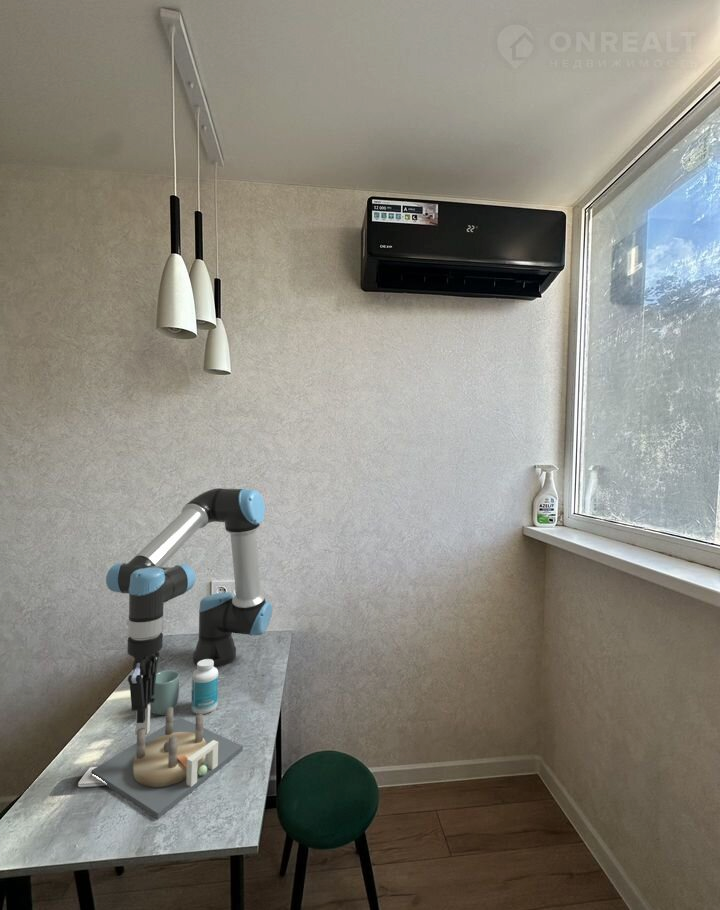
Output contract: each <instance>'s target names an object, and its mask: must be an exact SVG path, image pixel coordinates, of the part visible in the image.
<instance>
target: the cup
mask: <svg viewBox="0 0 720 910" xmlns="http://www.w3.org/2000/svg"><path fill="white" fill-rule="evenodd" d="M154 692H155V693H154V695H153V696H152V698H155V700H154V702H151V703H149V704H150V711H151V712H152V713H153V714H154V715H157V716H164V715H165V716H166V709H167V708H169V707H173V710H174V709H175V708H176V706H177V705H178V701H179V696H180V695H179V694H180V673H179V672H178V671H177V670H169V669H168V670H161V671H159V672H158V671H157V673H156V682H155V691H154Z"/></svg>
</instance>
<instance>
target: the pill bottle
mask: <svg viewBox="0 0 720 910" xmlns="http://www.w3.org/2000/svg"><path fill="white" fill-rule="evenodd" d="M213 666H214V661H213V660H211V659H204V660H201V661H199V662H198V663H197V665H196V669H195V670H194V671H193V673H192V674H191V701H190V702H191V703H190V704H191V707H190V708H191V711H192V712H193V713H194V714H196V715H199V714H203V715H205V714H206V715H207V714H209V713H211V712H213V711H214V710H216V708H217V707H218V705H219V670H218V668H217V667H213Z"/></svg>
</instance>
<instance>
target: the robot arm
mask: <svg viewBox="0 0 720 910" xmlns="http://www.w3.org/2000/svg"><path fill="white" fill-rule="evenodd" d="M265 513H266V504H265V500H264V498H263V495H262V494H261V493H260V492H259V491H257V490H255V489H247V488H221V487H220V488H213V489H209V490H207V491H205V492H202V493H201V494H199V495H197V496H195V497H193V498H192V499H191V500H190V501H188V502H187V503H186V504H185V505H184V506H183V507H182V509H181V511H180V514H178V516H177V517H175V519H174V520H173V521H171V522H170V523H168V525H167V526H166V527H165V528H164V529H163V530H162V531H161V532H159V534H158V535H156V536H155V537H154V538H153V539H152V540H151V541H150V542H149V543H148V544H147V545H146V546H145V547H143V549H141V550H140V551H139V552H138V553H137V554H136V555H135V556H134V557H133V558H131V560H130V561H129V562H127V563H125V562H122V563H116V564H114V565H112V566H111V567H110V568H109V570H108V571H107V574H106V577H105V584H106V586H107V588H108V590H110V592H114V593H121V594H129V595H128V596H129V598H128V601H129V602H128V604H129V605H128V606H129V607H128V608H129V610H128V620H127V622H126V625H128V632H127V635H128V638H127V650H126V651H127V654H128V655H130V656H131V657H133V658H134V661H133V663H132V669H133V674H130V675H128V677H127V682H128V684H129V691H130V694H129V695H130V704H131V711H133V712H135V733H134V735H136V736H137V731H138V730H139V729H141V728H145V729H146V734H145V736H146V735H147V736H148V734H149V733H150V729H151V728H150V727H151V723H150V722H151V708H150V703H151V702H154V700H155V698H152V696H153V695H154V693H155V692H154V691H155V682H156V673H158V662H159V657H160V651H161V650H162V648H163V635H164V634H163V631H164V604H165V603H167V602H169V601H171V600H173V599H175V598H177V597H179V596H181V595H184V594H185V593H187V592H188V591H191V589H192V588H193V587H194V586H195V583H196V573H195V570H194V569H193V568H192V567H191V566H190V565H188V564H183V563H182V564H177V565H174V566H170V567H169V566H165V565H166V564H167V562H169V560H171V558H172V557H174V555H175V554H176V553H177V552H178V551H179V550H180V549H181V548H182V547H183V546H184V545H185V544H186V542H188V540H189V539H191V537H192V536H193V535H195V533H196V532H197V531H198V530H199V529H203V528H205V527H206V526H207V525H208V524H209V523H216V522H218V523H224V529H225V531H226V532H227V533H229V535H230V544H231V556H232V569H233V579H234V587H235V588H234V591H235V595H233V593H231V592H225V591H224V592H218V593H212V594H209V595H207V596H205V597H203V598H202V599H201V600H200V602H199V609H198V613H199V614H198V615H199V616H198V641H197V643H196V646H195V650H194V651H193V654H192V662H193V664H194V665H195V666H197V663H198V662H199V661H201V660H204V659H211V660H213V661H214V666H213V667H215V668H217V667H222V666H225V665H228V664H230V663H232V662H233V661H234V660H235V659H236V657H237V648H236V647H237V646H235V641H234V639H233V635H232V634H241V635H249V636H250V637H251V636H262V635H263V634H264V633H265V632H266V631H267V630H268V628H269V625H270V623H271V619H272V614H273V605H272V602H269V601H266V596H265V593H264V592H263V591H261V583H260V570H259V557H258V543H257V530H258V529H259V528H260V526H261V525H260V524H261V523H262V522H263V521H264V520H265V519H264V518H265Z"/></svg>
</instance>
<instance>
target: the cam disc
mask: <svg viewBox="0 0 720 910" xmlns="http://www.w3.org/2000/svg"><path fill="white" fill-rule="evenodd" d="M173 721H174V709H173V707H169V708H167V709H166V714H165V723H164V726H165V734H166V735H164V736H161V737H158V738H156V739H154V740H152V741H151V742H149V743H148V744H146V745H145V737H146V735H145V734H146V729H145V728H141V729H139V730H138V731H137V735H136V743H137V753H136V756H135V758H134V763H133V775H134V778H135V779H136V781H137V782H138V783H140V784H142V785H144V786H148V787H164V786H169V785H173V784H176V783H179V782H181V781H183V780H185V779H186V778H187V759H188V758H189V757H190V756H192V755H193V754H195V753H196V752H197V751H199V750H200V749H201V748H203V747H204V746H206V745H207V744H206V741H205V739H204V738H203V728H204V714H196V716H195V724H196V727H195V733H192V732H176V733H173ZM206 755H207V754H206ZM206 755H205V756H203V757H202V758H201V759H199V760H198V767H197V771H198V769H199V767H200V766H202V765H203V764H204V762H205V760H206Z"/></svg>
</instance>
